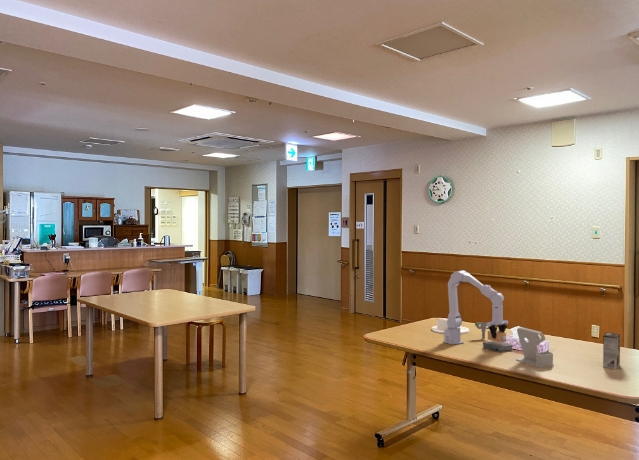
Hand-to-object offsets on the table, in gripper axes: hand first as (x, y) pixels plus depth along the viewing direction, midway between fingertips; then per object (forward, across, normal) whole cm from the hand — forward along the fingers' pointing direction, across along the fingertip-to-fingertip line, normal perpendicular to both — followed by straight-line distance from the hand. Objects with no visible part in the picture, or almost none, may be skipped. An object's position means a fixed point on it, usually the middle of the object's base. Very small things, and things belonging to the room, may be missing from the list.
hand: (497, 337), depth 288 cm
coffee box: (+7, +26, -51) cm, 58 cm away
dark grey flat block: (+6, 0, 0) cm, 6 cm away
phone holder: (+7, -4, -29) cm, 30 cm away
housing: (+2, 0, +1) cm, 2 cm away
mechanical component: (+7, +11, +23) cm, 26 cm away
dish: (+7, +8, +51) cm, 52 cm away
